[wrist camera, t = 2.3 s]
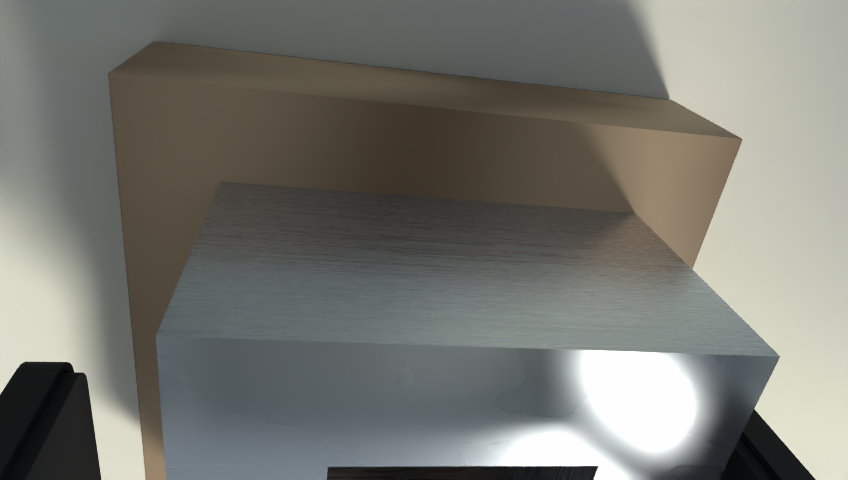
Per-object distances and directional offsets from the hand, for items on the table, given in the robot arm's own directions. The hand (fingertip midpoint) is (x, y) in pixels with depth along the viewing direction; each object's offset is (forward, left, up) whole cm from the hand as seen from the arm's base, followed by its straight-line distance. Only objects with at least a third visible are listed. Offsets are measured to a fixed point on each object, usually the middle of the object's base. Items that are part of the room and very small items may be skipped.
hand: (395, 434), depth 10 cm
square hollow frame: (-1, 0, -2) cm, 2 cm away
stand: (-1, 0, -4) cm, 4 cm away
